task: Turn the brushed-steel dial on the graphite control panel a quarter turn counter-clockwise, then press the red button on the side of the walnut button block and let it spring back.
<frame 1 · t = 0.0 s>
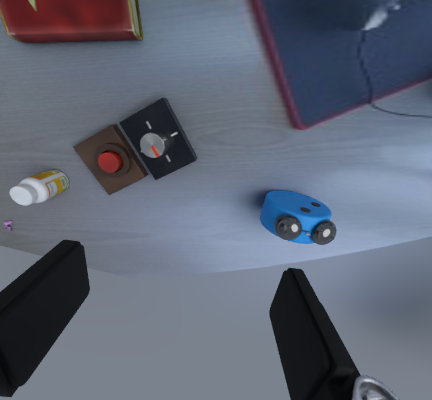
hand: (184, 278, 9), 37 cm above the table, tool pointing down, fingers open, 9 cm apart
hardcover book: (76, 0, 34), on the table
alarm clock: (283, 200, 49), on the table
button block: (114, 160, 45), on the table
control panel: (162, 140, 43), on the table
timer knob: (155, 144, 38), point 5 cm above the table, hinge at 0.0°
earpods: (11, 224, 52), on the table
start button: (110, 161, 40), point 4 cm above the table, slide at 0.1 cm
supplement bottle: (58, 180, 47), on the table
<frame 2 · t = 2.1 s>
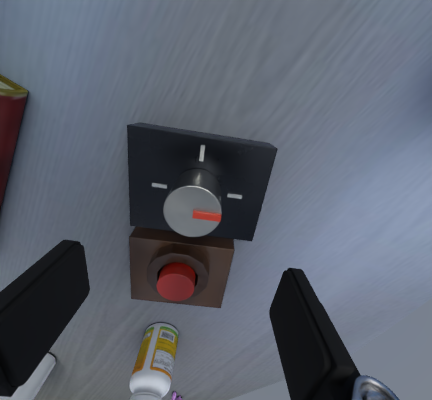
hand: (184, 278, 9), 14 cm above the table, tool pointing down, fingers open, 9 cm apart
button block: (182, 263, 27), on the table
control panel: (199, 180, 22), on the table
timer knob: (195, 201, 17), point 5 cm above the table, hinge at 0.0°
photo printer: (33, 360, 36), on the table
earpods: (178, 393, 41), on the table
start button: (176, 281, 22), point 4 cm above the table, slide at 0.1 cm
supplement bottle: (162, 331, 33), on the table
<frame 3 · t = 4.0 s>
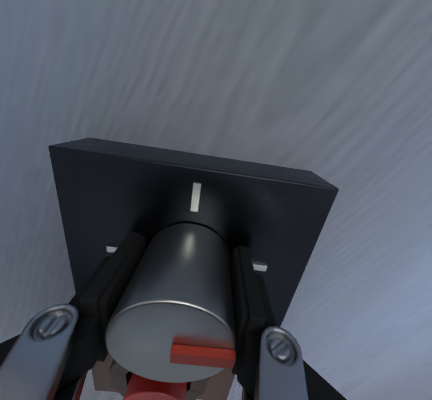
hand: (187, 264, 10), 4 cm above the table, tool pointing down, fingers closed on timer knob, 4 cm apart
button block: (170, 337, 18), on the table
control panel: (194, 227, 14), on the table
timer knob: (181, 295, 9), point 5 cm above the table, hinge at 0.1°, touching gripper
start button: (156, 391, 14), point 4 cm above the table, slide at 0.1 cm
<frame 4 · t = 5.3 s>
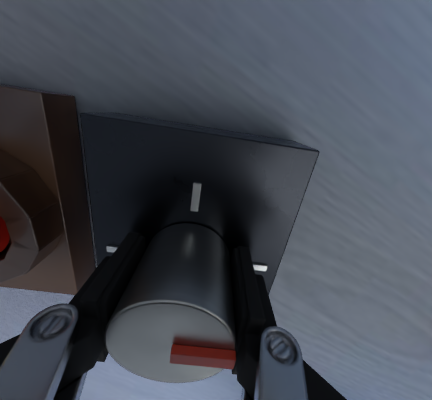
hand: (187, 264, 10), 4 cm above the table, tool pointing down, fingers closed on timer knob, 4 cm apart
button block: (6, 189, 13), on the table
control panel: (194, 227, 14), on the table
timer knob: (181, 295, 9), point 5 cm above the table, hinge at 90.0°, touching gripper
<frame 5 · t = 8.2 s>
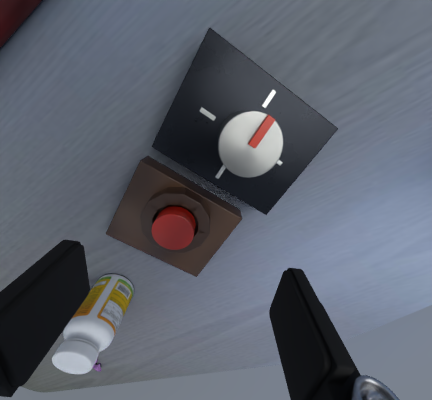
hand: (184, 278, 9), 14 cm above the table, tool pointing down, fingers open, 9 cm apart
button block: (176, 217, 24), on the table
control panel: (239, 134, 20), on the table
timer knob: (246, 141, 15), point 5 cm above the table, hinge at 89.7°
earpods: (98, 360, 37), on the table
start button: (174, 228, 20), point 4 cm above the table, slide at 0.1 cm
supplement bottle: (116, 285, 29), on the table
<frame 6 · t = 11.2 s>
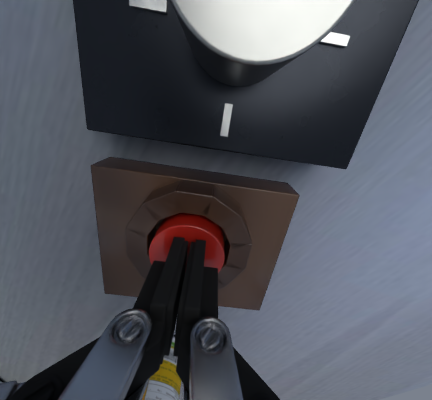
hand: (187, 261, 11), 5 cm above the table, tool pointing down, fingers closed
button block: (193, 232, 15), on the table
control panel: (235, 45, 11), on the table
start button: (188, 247, 11), point 4 cm above the table, slide at -0.6 cm, touching gripper
supplement bottle: (160, 345, 22), on the table
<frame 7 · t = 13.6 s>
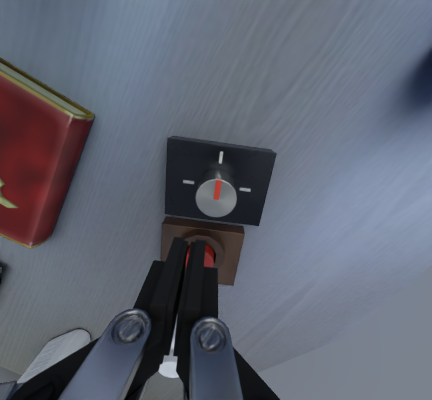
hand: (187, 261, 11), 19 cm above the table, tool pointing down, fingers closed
hardcover book: (32, 160, 28), on the table
button block: (201, 248, 33), on the table
control panel: (217, 179, 28), on the table
timer knob: (216, 192, 23), point 5 cm above the table, hinge at 89.7°
photo printer: (71, 337, 42), on the table
start button: (199, 258, 28), point 4 cm above the table, slide at 0.1 cm
supplement bottle: (183, 310, 38), on the table
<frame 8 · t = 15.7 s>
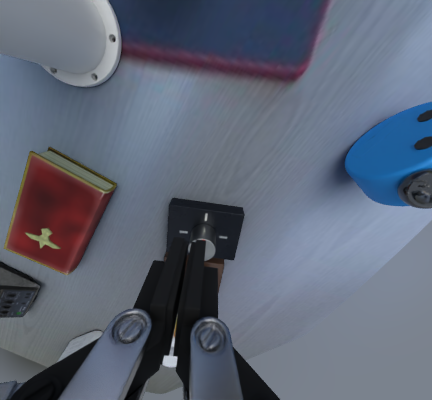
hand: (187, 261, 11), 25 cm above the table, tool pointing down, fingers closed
hardcover book: (68, 211, 38), on the table
alarm clock: (370, 146, 33), on the table
button block: (193, 272, 44), on the table
control panel: (204, 225, 39), on the table
timer knob: (202, 242, 34), point 5 cm above the table, hinge at 89.7°
photo printer: (89, 337, 53), on the table
supplement bottle: (179, 316, 50), on the table
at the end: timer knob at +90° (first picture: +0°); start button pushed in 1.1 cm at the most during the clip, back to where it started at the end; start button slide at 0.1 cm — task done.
